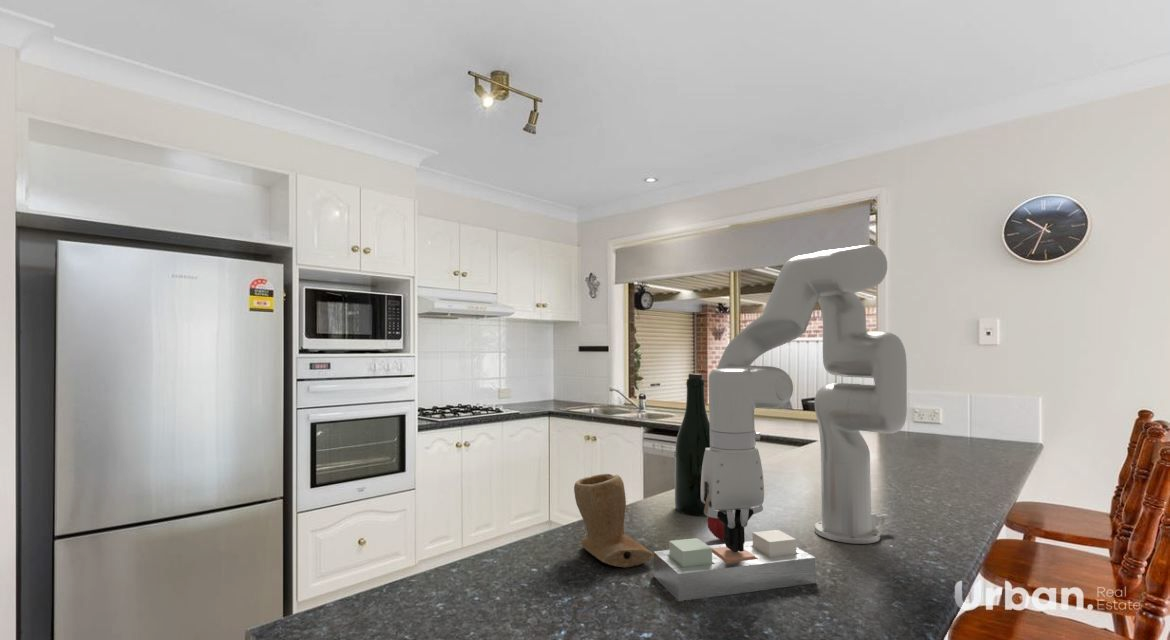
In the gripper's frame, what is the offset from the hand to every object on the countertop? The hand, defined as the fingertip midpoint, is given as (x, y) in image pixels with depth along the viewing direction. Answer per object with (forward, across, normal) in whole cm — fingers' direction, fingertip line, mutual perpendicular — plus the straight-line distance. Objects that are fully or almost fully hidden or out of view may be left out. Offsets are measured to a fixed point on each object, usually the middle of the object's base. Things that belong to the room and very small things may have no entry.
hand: (734, 548), depth 96 cm
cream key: (+1, -8, 0) cm, 8 cm away
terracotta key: (+4, 0, 0) cm, 4 cm away
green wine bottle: (+6, -13, -39) cm, 41 cm away
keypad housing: (+5, 0, 0) cm, 5 cm away
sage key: (+1, +8, 0) cm, 8 cm away
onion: (+6, -8, -18) cm, 20 cm away
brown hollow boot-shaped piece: (+5, +17, -16) cm, 24 cm away
